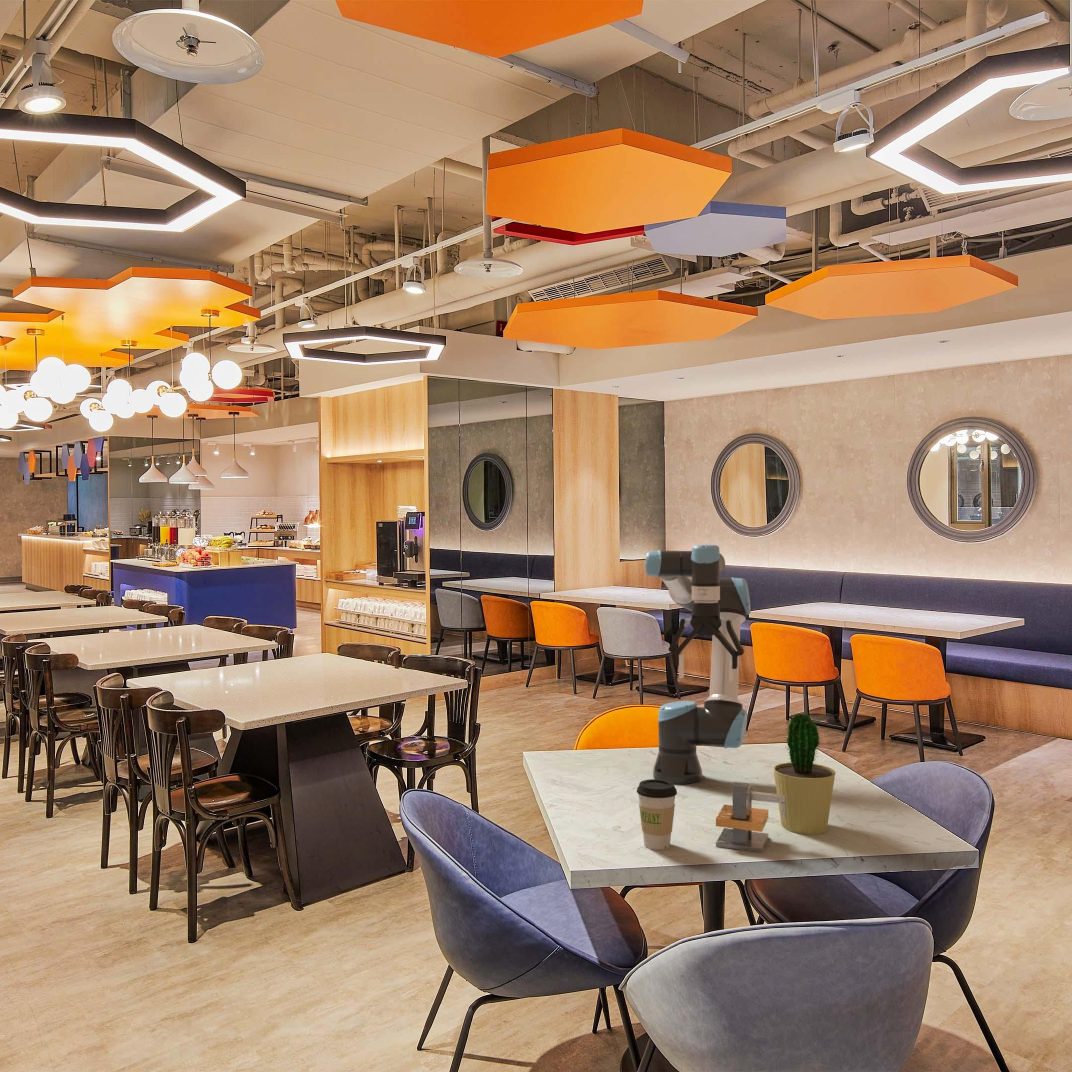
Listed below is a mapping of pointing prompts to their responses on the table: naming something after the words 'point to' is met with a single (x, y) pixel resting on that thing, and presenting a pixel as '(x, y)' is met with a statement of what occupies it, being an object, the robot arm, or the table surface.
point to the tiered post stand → (748, 822)
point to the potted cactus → (804, 780)
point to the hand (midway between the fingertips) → (706, 679)
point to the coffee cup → (656, 812)
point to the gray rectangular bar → (740, 811)
